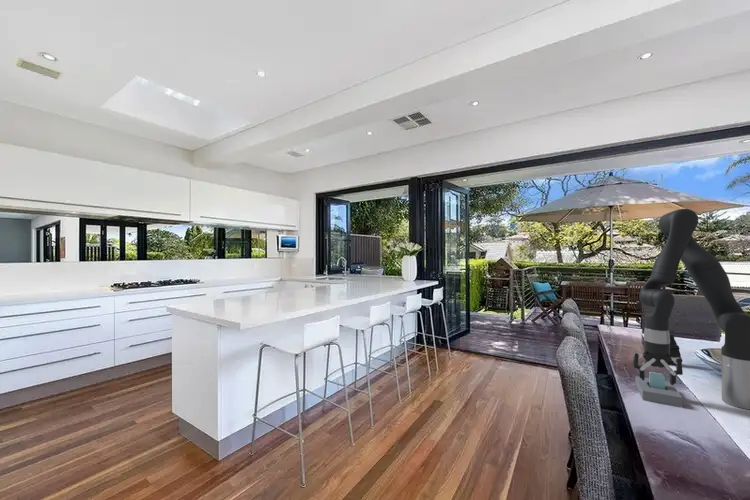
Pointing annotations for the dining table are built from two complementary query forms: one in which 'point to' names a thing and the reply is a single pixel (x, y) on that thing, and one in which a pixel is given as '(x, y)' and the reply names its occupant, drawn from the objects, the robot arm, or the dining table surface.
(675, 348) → the black ridged block
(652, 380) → the teal rectangular block
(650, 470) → the dining table surface
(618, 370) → the dining table surface
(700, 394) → the dining table surface
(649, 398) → the grey slotted block
